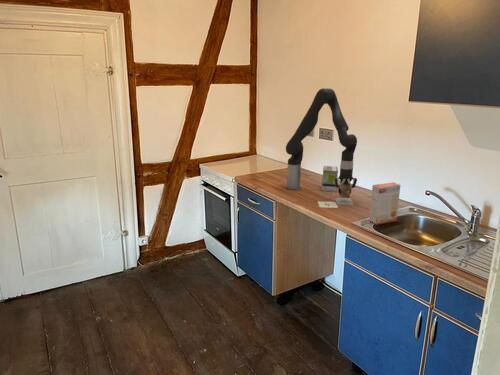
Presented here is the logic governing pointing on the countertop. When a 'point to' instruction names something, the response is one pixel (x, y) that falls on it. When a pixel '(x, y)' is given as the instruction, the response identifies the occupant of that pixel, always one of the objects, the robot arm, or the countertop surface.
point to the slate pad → (343, 201)
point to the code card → (328, 204)
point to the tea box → (329, 178)
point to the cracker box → (384, 203)
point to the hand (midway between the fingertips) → (344, 193)
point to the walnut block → (345, 191)
